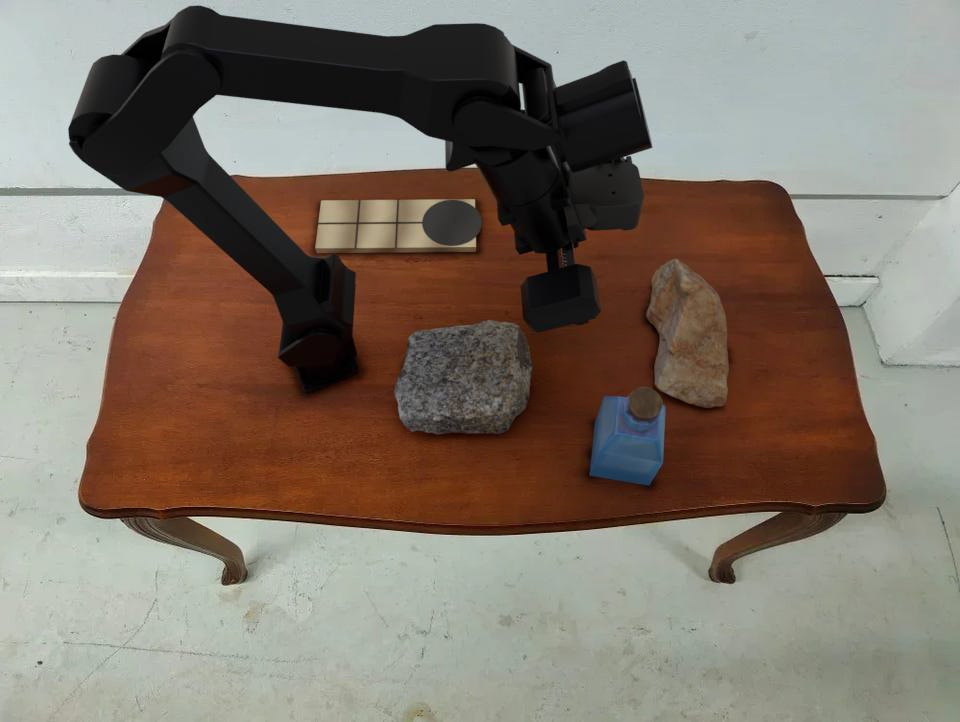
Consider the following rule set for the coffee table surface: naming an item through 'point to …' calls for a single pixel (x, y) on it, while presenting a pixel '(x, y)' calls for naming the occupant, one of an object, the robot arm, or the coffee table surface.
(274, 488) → the coffee table surface
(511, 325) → the rock
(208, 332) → the coffee table surface
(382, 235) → the board
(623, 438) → the perfume bottle
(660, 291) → the stone
